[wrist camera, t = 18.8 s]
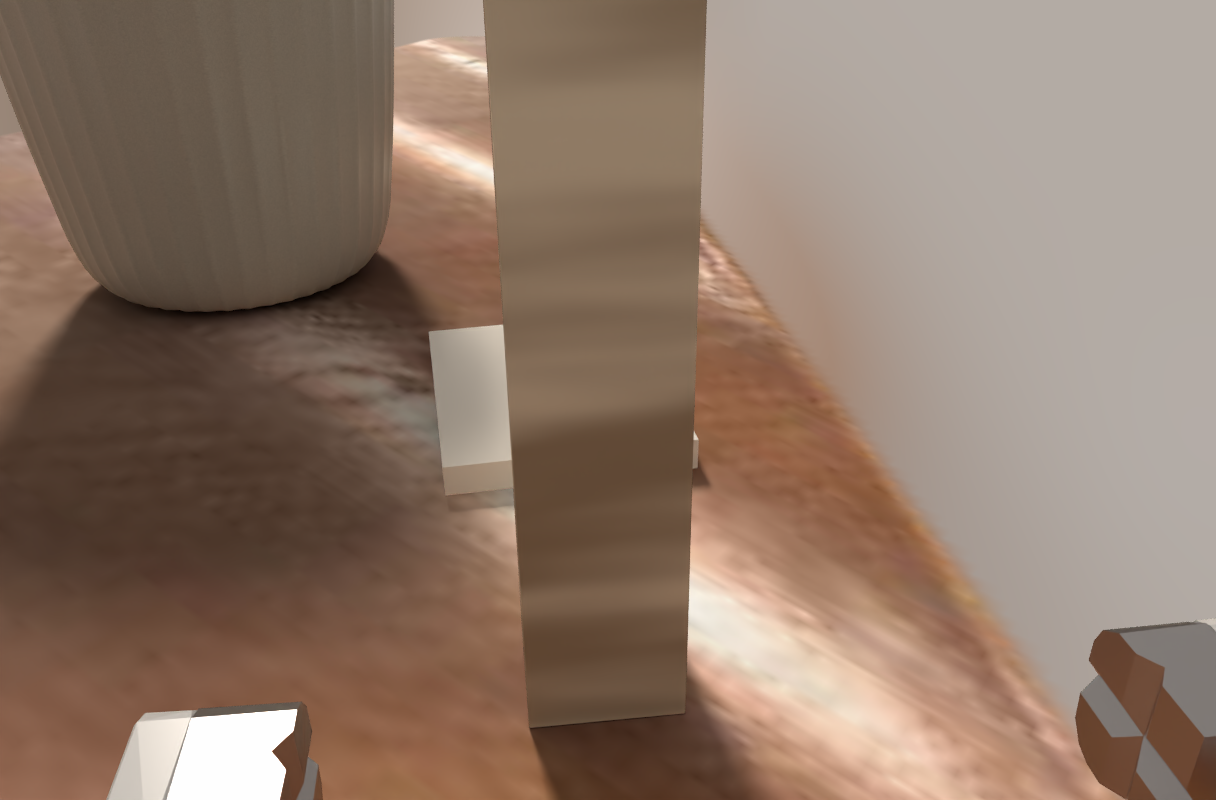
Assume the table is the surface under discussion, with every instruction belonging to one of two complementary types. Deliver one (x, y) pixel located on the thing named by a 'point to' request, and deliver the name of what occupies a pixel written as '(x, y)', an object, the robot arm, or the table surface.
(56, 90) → the canister
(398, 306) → the table surface
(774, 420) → the table surface
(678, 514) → the block
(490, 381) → the tile
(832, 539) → the table surface
